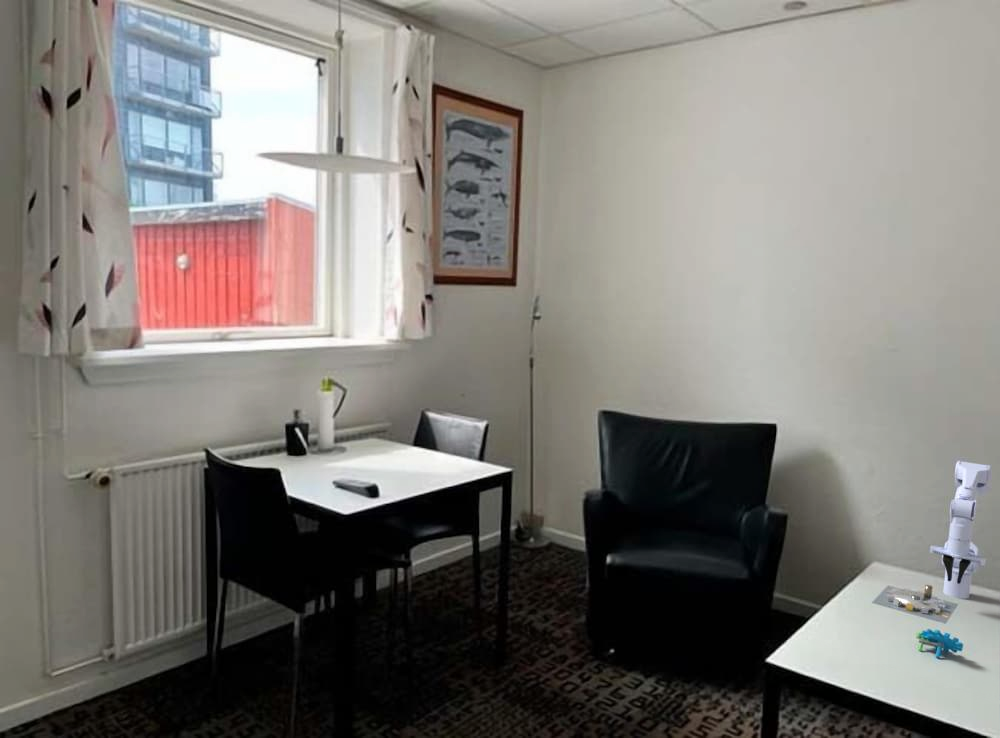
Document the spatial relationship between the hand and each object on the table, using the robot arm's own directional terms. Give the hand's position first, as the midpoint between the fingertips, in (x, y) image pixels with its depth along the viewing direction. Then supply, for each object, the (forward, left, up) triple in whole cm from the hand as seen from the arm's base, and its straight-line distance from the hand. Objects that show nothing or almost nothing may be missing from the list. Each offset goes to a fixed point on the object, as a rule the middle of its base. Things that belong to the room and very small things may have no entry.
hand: (954, 581), depth 235 cm
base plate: (+5, -9, -9) cm, 14 cm away
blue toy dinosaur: (+36, +3, -10) cm, 37 cm away
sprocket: (+5, -9, -8) cm, 13 cm away
